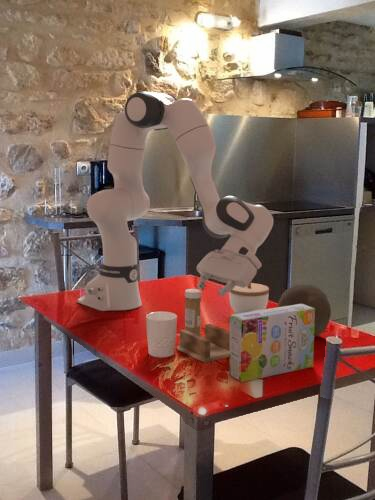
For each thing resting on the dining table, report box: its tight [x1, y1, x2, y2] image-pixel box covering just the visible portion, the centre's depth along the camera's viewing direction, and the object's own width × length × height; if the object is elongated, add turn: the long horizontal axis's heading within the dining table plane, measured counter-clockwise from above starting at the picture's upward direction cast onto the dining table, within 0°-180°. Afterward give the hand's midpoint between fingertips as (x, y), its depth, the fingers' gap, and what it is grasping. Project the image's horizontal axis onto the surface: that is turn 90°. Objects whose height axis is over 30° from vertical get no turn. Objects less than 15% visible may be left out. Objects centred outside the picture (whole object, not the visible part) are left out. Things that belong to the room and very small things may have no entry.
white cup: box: [145, 311, 178, 358], centre depth 149 cm, size 8×8×10 cm
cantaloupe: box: [277, 284, 332, 338], centre depth 162 cm, size 14×14×15 cm
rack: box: [176, 323, 230, 363], centre depth 151 cm, size 12×11×5 cm
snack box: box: [228, 304, 315, 383], centre depth 137 cm, size 21×6×15 cm, turn 118°
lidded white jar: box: [228, 281, 270, 314], centre depth 183 cm, size 13×13×11 cm
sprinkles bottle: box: [184, 288, 202, 337], centre depth 162 cm, size 5×5×14 cm
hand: (209, 291), depth 164 cm, fingers open, 8 cm apart
